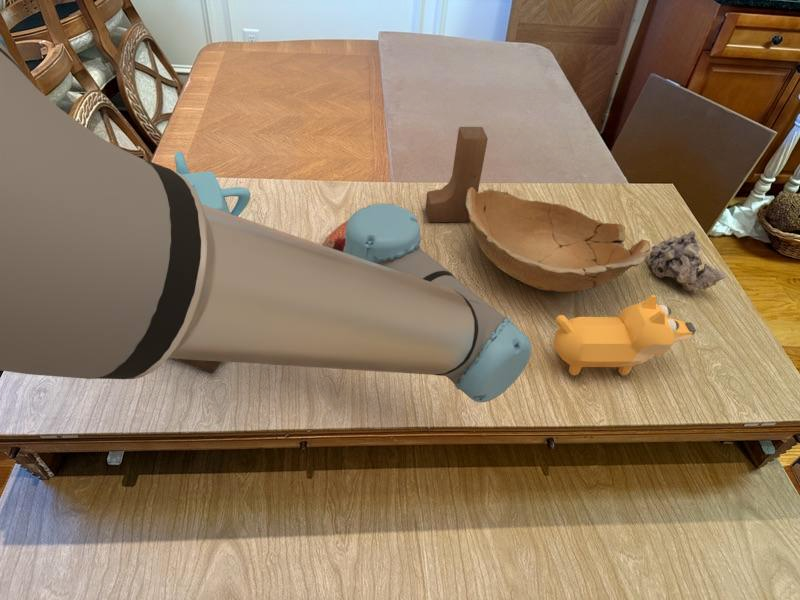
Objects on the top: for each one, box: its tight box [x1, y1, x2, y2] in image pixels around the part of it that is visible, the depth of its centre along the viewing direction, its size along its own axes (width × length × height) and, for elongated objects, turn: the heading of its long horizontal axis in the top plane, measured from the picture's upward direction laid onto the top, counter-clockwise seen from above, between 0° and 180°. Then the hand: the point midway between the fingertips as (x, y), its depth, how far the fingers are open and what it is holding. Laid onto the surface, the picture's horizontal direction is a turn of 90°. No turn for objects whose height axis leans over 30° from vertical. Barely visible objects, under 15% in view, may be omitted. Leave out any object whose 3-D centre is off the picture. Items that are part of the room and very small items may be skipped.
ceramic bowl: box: [466, 187, 651, 293], centre depth 93 cm, size 30×27×15 cm
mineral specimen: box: [647, 230, 727, 292], centre depth 95 cm, size 12×9×10 cm
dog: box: [553, 294, 697, 377], centre depth 77 cm, size 8×20×13 cm, turn 93°
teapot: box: [174, 150, 252, 217], centre depth 92 cm, size 18×16×14 cm
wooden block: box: [424, 126, 488, 223], centre depth 101 cm, size 9×4×18 cm, turn 96°
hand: (148, 253), depth 71 cm, fingers closed on beverage cup, 6 cm apart
